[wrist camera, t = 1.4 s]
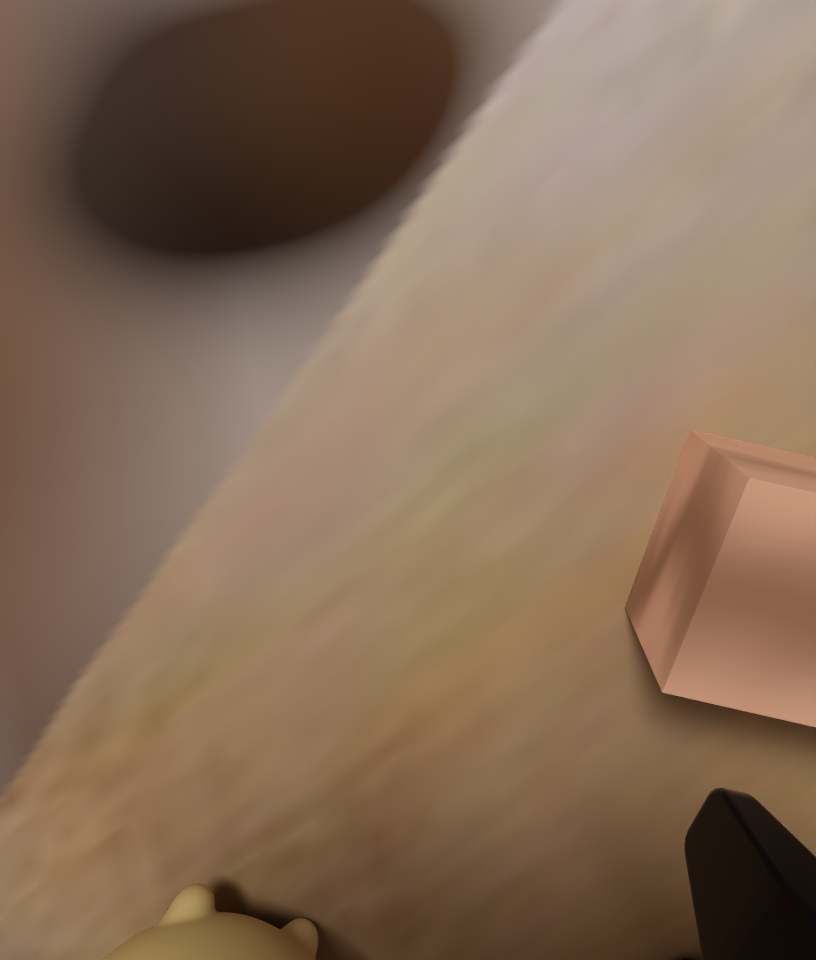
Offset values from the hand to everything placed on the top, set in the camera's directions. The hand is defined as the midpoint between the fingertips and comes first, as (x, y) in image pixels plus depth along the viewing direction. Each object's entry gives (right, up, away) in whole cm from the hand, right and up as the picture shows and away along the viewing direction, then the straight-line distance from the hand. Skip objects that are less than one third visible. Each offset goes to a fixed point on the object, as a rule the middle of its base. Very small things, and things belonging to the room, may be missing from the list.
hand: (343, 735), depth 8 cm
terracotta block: (+11, +1, +13) cm, 17 cm away
